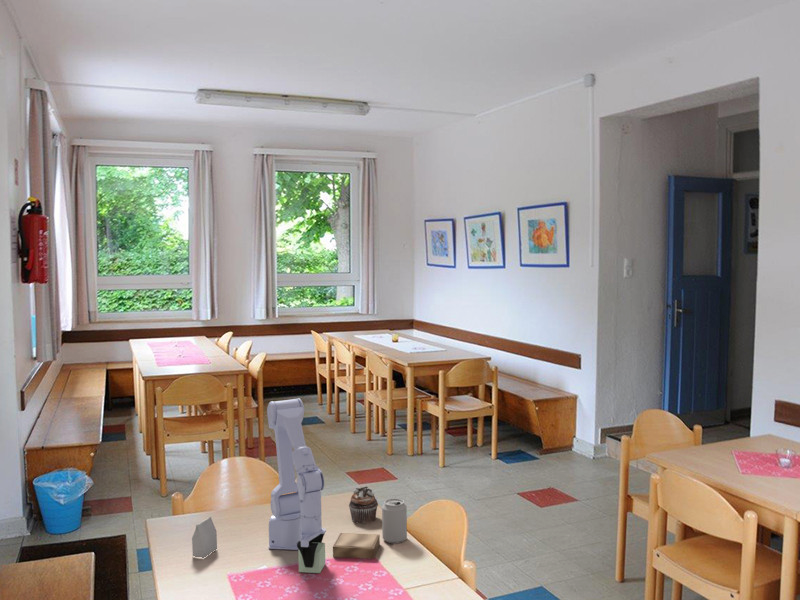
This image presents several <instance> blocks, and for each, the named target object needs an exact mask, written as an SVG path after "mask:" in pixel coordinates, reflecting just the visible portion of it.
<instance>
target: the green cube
mask: <svg viewBox="0 0 800 600" xmlns="http://www.w3.org/2000/svg"><path fill="white" fill-rule="evenodd" d="M312 543H317V542H312ZM297 551H298V572H299V573H310V574H321V572H322V571H323V569H324V567H325V565H326V542H322V543H318V545H317V548H316V551H315V556H314V564H313V567H312V568H308V567H305V565H304V562H303V558H302V555H301V552H300V551H299V550H297Z"/></svg>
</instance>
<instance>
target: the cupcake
mask: <svg viewBox="0 0 800 600" xmlns="http://www.w3.org/2000/svg"><path fill="white" fill-rule="evenodd" d="M368 487H369V486H364V487H360V488H358V487H356V488H355V489H353V491H352V492H353V494H352V495H351V497H350V502H349V504H348V508H349V512H350V516H351V517H350V518H351V520H353V521H352V522H354V521H355V522H354V523H356V522H358V523H357V524H368V523H367V522H369V523H371V521H372V522H374V521H376V516H377V512H378V511H377V510H378V507H379V503H378V500H377V498H376V496H375V492H374V491H373V489H371V488H368Z"/></svg>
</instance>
